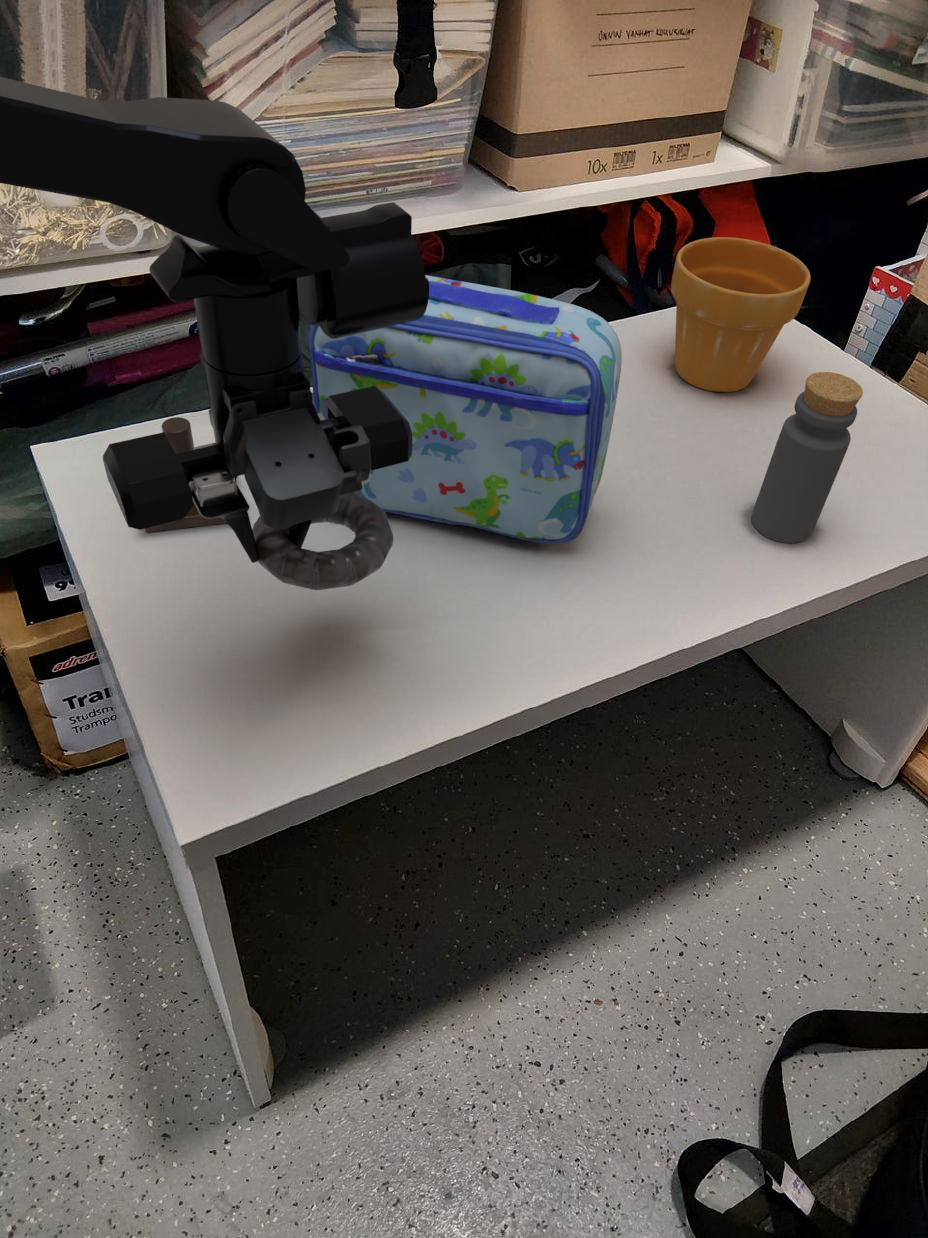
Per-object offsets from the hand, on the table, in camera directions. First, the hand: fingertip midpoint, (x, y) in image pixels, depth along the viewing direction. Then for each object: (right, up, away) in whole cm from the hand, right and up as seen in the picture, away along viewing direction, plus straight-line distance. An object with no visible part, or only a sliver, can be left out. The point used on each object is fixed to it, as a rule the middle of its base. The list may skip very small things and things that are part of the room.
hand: (274, 552), depth 66 cm
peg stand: (-12, +6, +21) cm, 25 cm away
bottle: (+44, +4, +24) cm, 50 cm away
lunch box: (+12, +6, +23) cm, 27 cm away
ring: (+3, +1, +1) cm, 4 cm away
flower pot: (+42, +24, +43) cm, 65 cm away
